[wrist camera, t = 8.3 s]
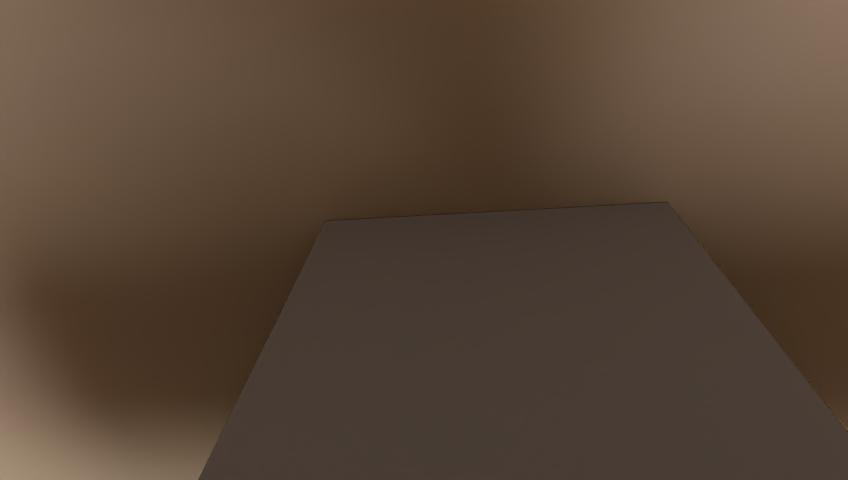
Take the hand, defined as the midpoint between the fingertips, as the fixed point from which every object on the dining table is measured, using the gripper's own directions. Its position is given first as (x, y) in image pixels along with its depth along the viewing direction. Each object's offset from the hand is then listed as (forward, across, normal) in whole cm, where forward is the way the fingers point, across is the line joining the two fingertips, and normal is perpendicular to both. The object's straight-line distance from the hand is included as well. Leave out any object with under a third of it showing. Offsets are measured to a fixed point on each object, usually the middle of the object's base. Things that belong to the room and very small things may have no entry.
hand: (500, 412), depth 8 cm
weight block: (+1, 0, 0) cm, 1 cm away
